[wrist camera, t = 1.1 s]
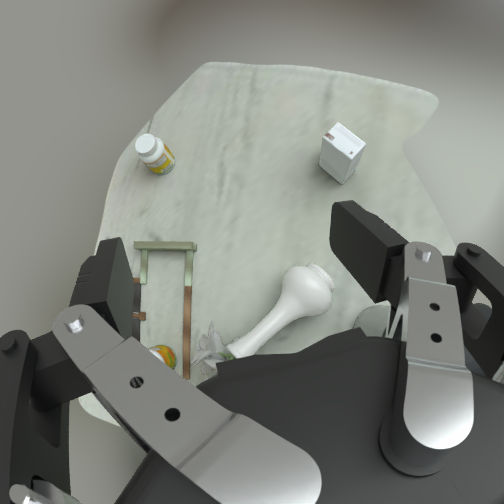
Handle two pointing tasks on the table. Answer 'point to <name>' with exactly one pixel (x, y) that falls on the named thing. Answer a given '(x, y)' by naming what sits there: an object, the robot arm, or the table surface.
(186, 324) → the lane board
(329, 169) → the skincare box
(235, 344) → the flower vase
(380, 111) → the table surface
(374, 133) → the table surface
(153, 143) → the supplement bottle
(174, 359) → the supplement bottle
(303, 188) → the table surface
